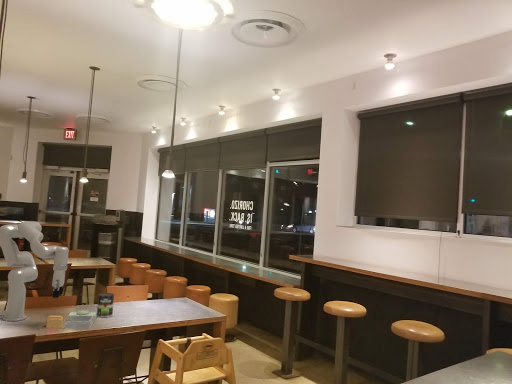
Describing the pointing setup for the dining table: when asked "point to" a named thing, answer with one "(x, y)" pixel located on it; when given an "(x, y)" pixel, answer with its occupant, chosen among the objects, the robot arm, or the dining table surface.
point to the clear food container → (83, 314)
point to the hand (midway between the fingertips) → (57, 295)
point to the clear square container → (79, 322)
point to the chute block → (54, 322)
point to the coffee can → (105, 305)
